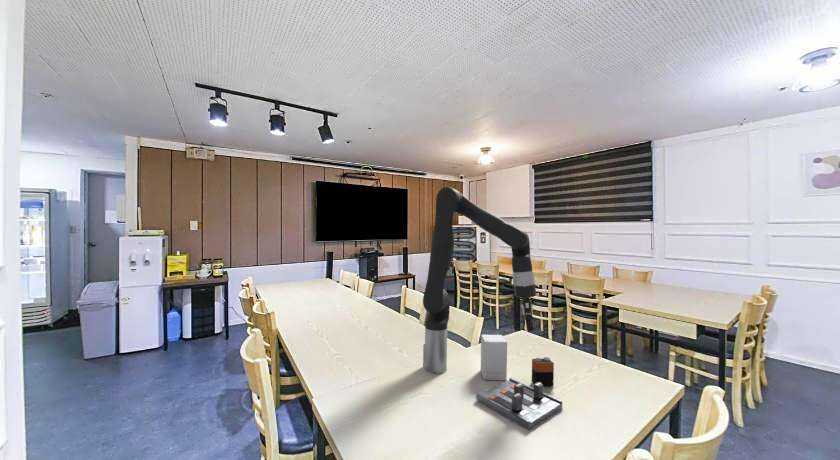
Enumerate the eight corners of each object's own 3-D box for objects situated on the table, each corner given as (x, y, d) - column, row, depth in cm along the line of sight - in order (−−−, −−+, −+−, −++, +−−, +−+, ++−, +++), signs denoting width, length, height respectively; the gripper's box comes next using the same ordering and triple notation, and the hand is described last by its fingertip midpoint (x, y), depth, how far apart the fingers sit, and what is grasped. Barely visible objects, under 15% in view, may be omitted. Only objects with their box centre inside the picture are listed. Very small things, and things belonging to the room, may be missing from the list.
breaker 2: (511, 408, 99) (511, 394, 99) (516, 405, 100) (516, 392, 100) (517, 411, 97) (517, 397, 97) (522, 408, 99) (522, 394, 99)
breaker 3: (533, 396, 106) (533, 383, 106) (537, 393, 108) (537, 381, 108) (538, 398, 105) (539, 386, 105) (543, 396, 106) (543, 383, 106)
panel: (476, 400, 107) (476, 393, 107) (510, 384, 119) (510, 377, 119) (528, 431, 91) (528, 422, 92) (562, 409, 103) (562, 401, 103)
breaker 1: (513, 397, 105) (514, 384, 105) (518, 394, 107) (518, 382, 107) (519, 399, 104) (519, 387, 104) (523, 397, 105) (523, 384, 105)
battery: (553, 387, 118) (554, 360, 118) (536, 387, 117) (536, 360, 117) (548, 381, 122) (548, 355, 122) (531, 382, 122) (531, 356, 122)
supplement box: (507, 381, 122) (507, 342, 122) (483, 380, 122) (484, 341, 122) (502, 370, 131) (502, 334, 131) (480, 370, 131) (480, 333, 131)
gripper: (513, 281, 125) (518, 323, 124) (513, 286, 112) (519, 333, 111) (533, 280, 123) (538, 322, 122) (536, 285, 109) (542, 332, 108)
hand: (529, 327), depth 116 cm, fingers open, 8 cm apart
